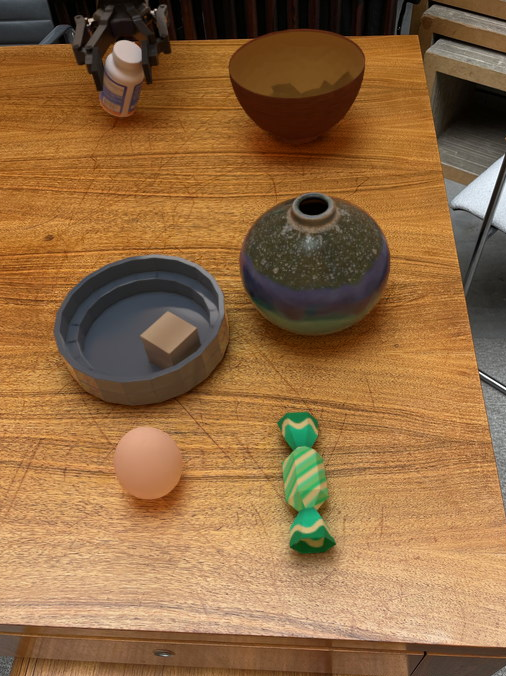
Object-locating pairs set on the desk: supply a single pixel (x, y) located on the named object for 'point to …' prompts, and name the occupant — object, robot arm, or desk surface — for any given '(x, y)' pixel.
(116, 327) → the bowl
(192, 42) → the desk surface
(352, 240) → the vase
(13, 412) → the desk surface
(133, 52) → the pill bottle
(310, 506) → the candy
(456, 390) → the desk surface
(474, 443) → the desk surface
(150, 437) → the egg
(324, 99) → the bowl
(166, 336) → the block
